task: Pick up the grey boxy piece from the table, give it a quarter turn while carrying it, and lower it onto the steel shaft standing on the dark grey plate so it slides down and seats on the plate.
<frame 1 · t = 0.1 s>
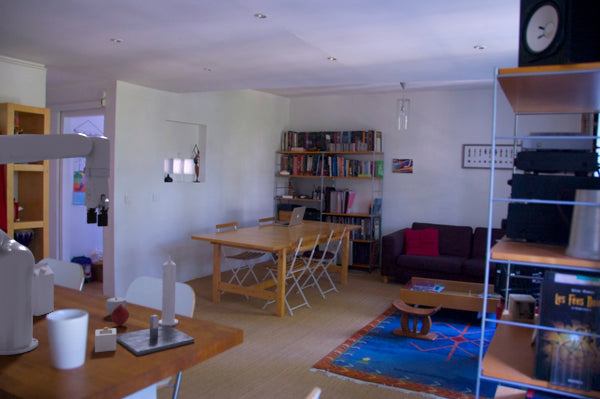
hand: (97, 224, 158), 37 cm above the table, tool pointing down, fingers open, 9 cm apart
grey boxy piece: (105, 347, 146), on the table
hub plate: (154, 340, 153), on the table
milk carton: (38, 313, 179), on the table
candle: (168, 323, 172), on the table
onion: (119, 326, 167), on the table
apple: (116, 315, 180), on the table
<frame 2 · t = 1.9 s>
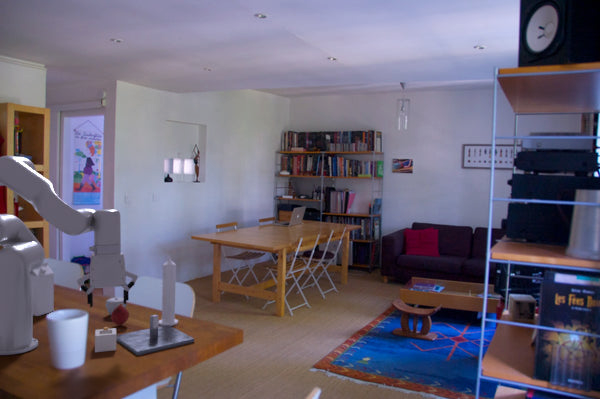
hand: (108, 304, 145), 14 cm above the table, tool pointing down, fingers open, 9 cm apart
nothing on the table moved.
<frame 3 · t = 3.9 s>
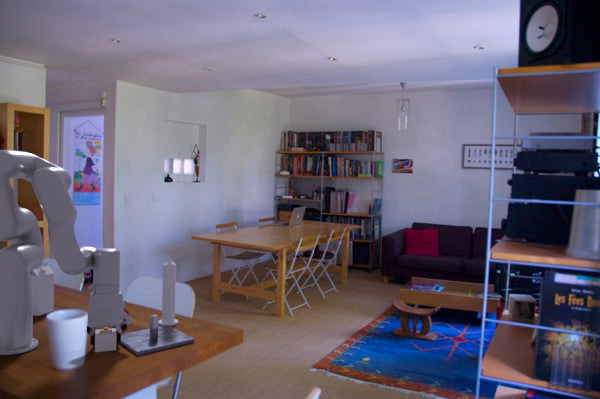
hand: (105, 345, 146), 1 cm above the table, tool pointing down, fingers closed on grey boxy piece, 6 cm apart
grey boxy piece: (105, 347, 146), on the table, touching gripper
everything else where it was.
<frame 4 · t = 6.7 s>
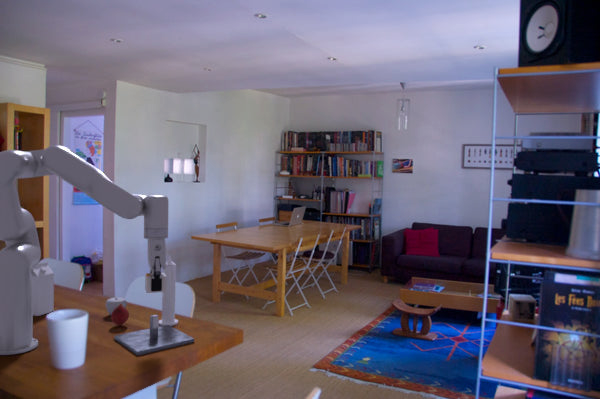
hand: (155, 288, 153), 17 cm above the table, tool pointing down, fingers closed on grey boxy piece, 6 cm apart
grey boxy piece: (155, 290, 153), point 17 cm above the table, touching gripper
everything else where it was.
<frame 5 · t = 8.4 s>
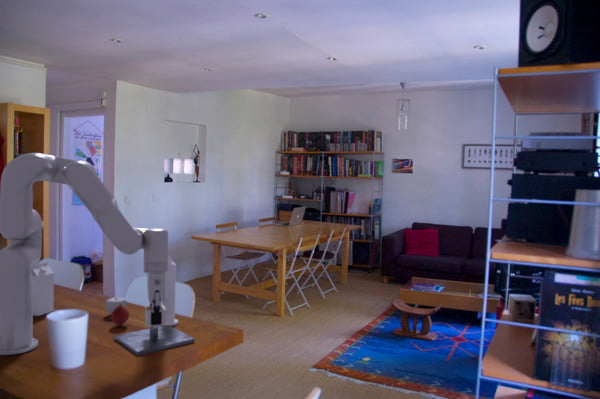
hand: (155, 320, 153), 7 cm above the table, tool pointing down, fingers closed on grey boxy piece, 6 cm apart
grey boxy piece: (155, 323, 153), point 6 cm above the table, touching gripper
everything else where it was.
when the fingers open (4 cm above the table, at t = 9.8 s): grey boxy piece drops 2 cm, resting on hub plate.
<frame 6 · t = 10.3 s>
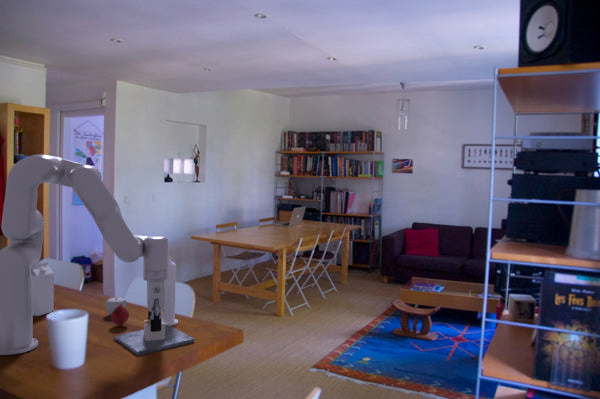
hand: (154, 326, 153), 5 cm above the table, tool pointing down, fingers open, 9 cm apart
grey boxy piece: (154, 337, 153), point 1 cm above the table, touching hub plate
everything else where it was.
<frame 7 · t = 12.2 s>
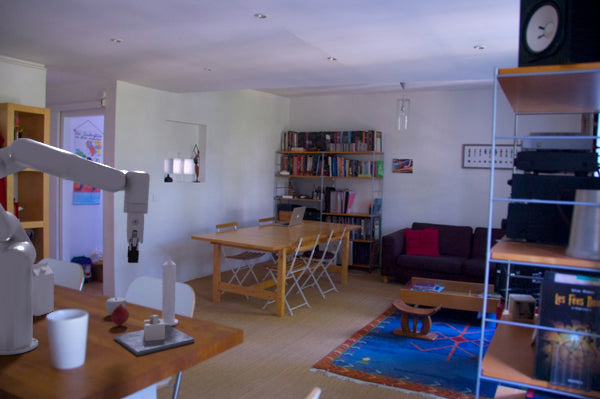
hand: (132, 260, 155), 26 cm above the table, tool pointing down, fingers open, 9 cm apart
nothing on the table moved.
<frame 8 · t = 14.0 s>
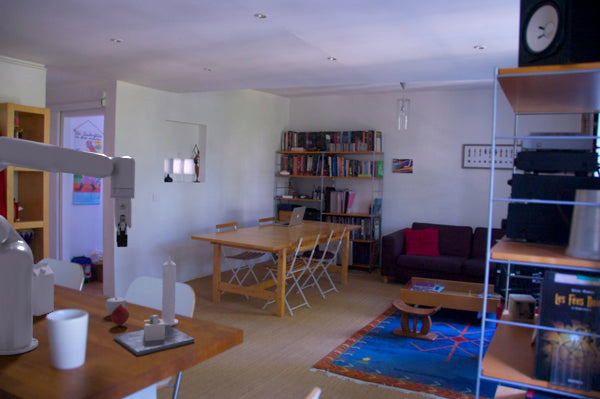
hand: (121, 244, 158), 30 cm above the table, tool pointing down, fingers open, 9 cm apart
nothing on the table moved.
at the end: grey boxy piece 0.0 cm off-centre on the hub plate, point 1.2 cm above the hub plate's base; grey boxy piece tilted 0°; the gripper is holding nothing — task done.
